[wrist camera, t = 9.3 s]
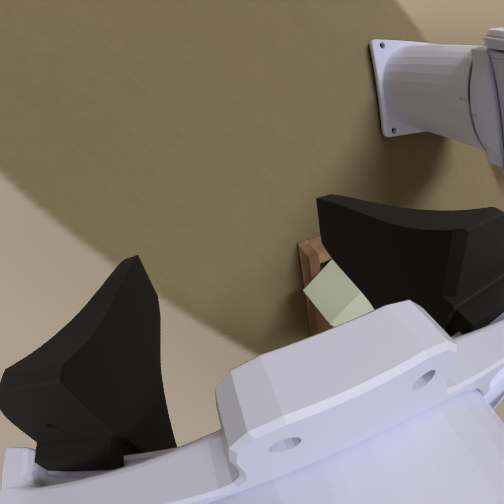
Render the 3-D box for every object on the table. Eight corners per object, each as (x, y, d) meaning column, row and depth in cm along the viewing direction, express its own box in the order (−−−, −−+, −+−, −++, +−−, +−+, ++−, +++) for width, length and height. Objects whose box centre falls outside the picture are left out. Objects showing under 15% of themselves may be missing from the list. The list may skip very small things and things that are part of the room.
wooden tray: (380, 215, 25) (396, 226, 23) (377, 310, 31) (388, 324, 29) (297, 243, 24) (309, 257, 22) (310, 338, 30) (319, 354, 28)
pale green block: (343, 246, 22) (375, 275, 19) (381, 288, 27) (407, 313, 24) (302, 290, 23) (329, 324, 20) (348, 322, 28) (372, 350, 24)
